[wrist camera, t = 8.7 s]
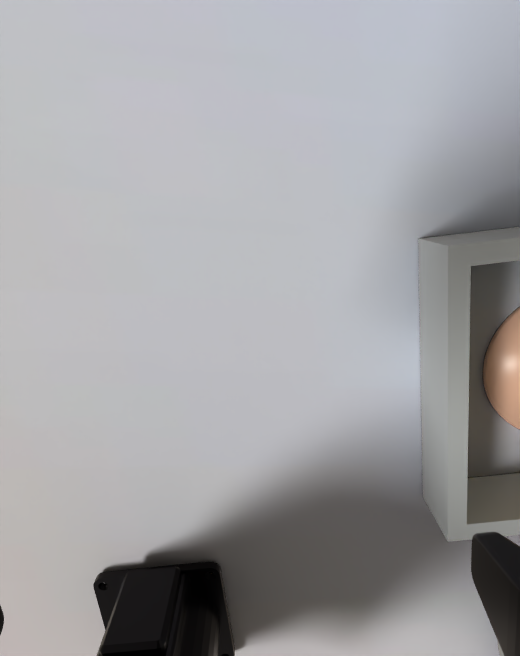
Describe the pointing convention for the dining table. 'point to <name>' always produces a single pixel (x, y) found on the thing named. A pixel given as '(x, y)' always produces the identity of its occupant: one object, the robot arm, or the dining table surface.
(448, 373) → the corral
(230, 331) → the dining table surface
